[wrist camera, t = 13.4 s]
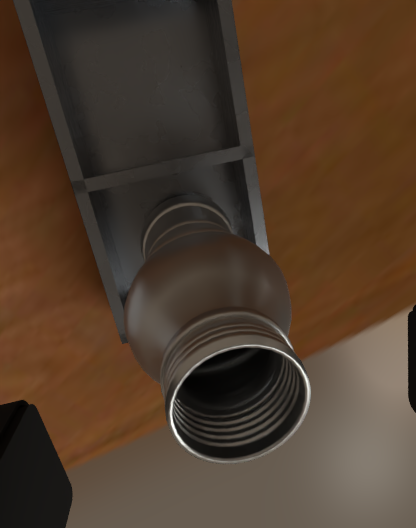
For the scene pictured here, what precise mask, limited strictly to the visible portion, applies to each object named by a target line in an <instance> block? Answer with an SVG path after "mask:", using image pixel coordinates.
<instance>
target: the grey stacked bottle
mask: <svg viewBox="0 0 416 528" xmlns="http://www.w3.org/2000/svg"><path fill="white" fill-rule="evenodd" d="M140 247H141V253H142V256H143V259H144V264H143V265H142V267H141V268H140V269H139V271H138V273H137V275H136V277H135V278H134V280H133V282H132V285H131V287H130V289H129V292H128V296H127V299H126V302H125V307H124V327H125V334H126V337H127V340H128V342H129V345H130V347H131V350H132V352H133V354H134V357H135V359H136V360H137V362H138V363H139V365H140V366H141V368H142V369H143V370H144V371H145V372H146V373H147V374H148V375H149V376H150V377H151V378H152V379H153V380H155V381H156V382H158V383H160V384H161V392H162V394H163V397H164V400H165V412H166V420H167V423H168V426H169V429H170V431H171V434H172V436H173V438H174V439H175V440H176V442H177V443H178V445H179V446H180V447H182V448H183V449H184V450H185V451H186V452H187V453H189V454H190V455H193V456H194V457H196V458H198V459H200V460H204V461H207V462H211V463H218V464H237V463H242V462H247V461H251V460H254V459H257V458H260V457H263V456H264V455H266V454H268V453H270V452H272V451H274V450H275V449H277V448H278V447H280V446H281V445H282V444H284V443H285V442H286V441H287V440H288V439H289V438H290V437H291V436H292V435H293V434H294V433H295V432H296V431H297V429H298V428H299V426H300V425H301V424H302V422H303V420H304V418H305V415H306V414H307V411H308V407H309V404H310V396H311V388H310V382H309V378H308V375H307V373H306V370H305V368H304V366H303V364H302V362H301V360H300V359H299V358H298V356H297V355H296V354H295V352H294V350H293V346H292V344H291V342H290V340H289V338H288V337H287V336H288V333H289V328H290V324H291V302H290V296H289V291H288V286H287V282H286V280H285V278H284V275H283V273H282V271H281V269H280V268H279V266H278V265H277V264H276V262H275V261H274V260H273V258H272V257H271V256H269V255H268V254H267V253H266V252H265V251H263V250H262V249H261V248H260V247H258V246H257V245H255V244H254V243H252V242H250V241H248V240H246V239H244V238H242V237H240V236H237V235H235V234H233V230H232V226H231V223H230V221H229V219H228V217H227V215H226V214H225V212H224V211H223V210H222V208H221V207H219V206H218V205H217V204H216V203H214V202H213V201H211V200H209V199H207V198H204V197H201V196H196V195H182V196H177V197H174V198H170V199H168V200H166V201H165V202H163V203H161V204H160V205H159V206H157V207H156V208H155V209H154V210H153V211H152V212H151V213H150V215H149V216H148V217H147V219H146V221H145V223H144V225H143V228H142V231H141V237H140Z"/></svg>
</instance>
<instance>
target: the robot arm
mask: <svg viewBox="0 0 416 528" xmlns="http://www.w3.org/2000/svg"><path fill="white" fill-rule="evenodd" d="M408 397H409V402H410V405H411V407H412V408H413V410H414V411H415V413H416V305H414V307H413V311H411V312H410V313H409V314H408ZM71 503H72V487H71V484H70V482H69V479H68V477H67V474H66V472H65V470H64V468H63V466H62V463H61V461H60V459H59V457H58V454H57V452H56V450H55V448H54V446H53V443H52V441H51V439H50V437H49V434H48V432H47V430H46V428H45V426H44V423H43V421H42V419H41V417H40V414H39V412H38V410H37V408H36V406H35V405H33V404H30V405H29V404H28V403H27V402H26V401H25V400H20V401H16V402H11V403H7V404H3V405H0V528H65V527H66V523H67V519H68V515H69V511H70V507H71Z"/></svg>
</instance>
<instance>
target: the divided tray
mask: <svg viewBox="0 0 416 528" xmlns="http://www.w3.org/2000/svg"><path fill="white" fill-rule="evenodd" d="M13 2H14V5H15V8H16V11H17V14H18V17H19V21H20V24H21V27H22V30H23V33H24V36H25V39H26V43H27V46H28V49H29V52H30V55H31V58H32V61H33V65H34V68H35V71H36V74H37V77H38V80H39V84H40V87H41V90H42V93H43V96H44V99H45V102H46V106H47V109H48V112H49V115H50V118H51V121H52V124H53V128H54V131H55V134H56V137H57V140H58V143H59V146H60V150H61V153H62V156H63V159H64V162H65V165H66V169H67V172H68V175H69V178H70V181H71V184H72V187H73V191H74V194H75V197H76V200H77V203H78V206H79V209H80V213H81V216H82V219H83V222H84V225H85V228H86V231H87V235H88V238H89V241H90V244H91V247H92V250H93V254H94V257H95V260H96V263H97V266H98V269H99V272H100V276H101V279H102V282H103V285H104V288H105V291H106V294H107V298H108V301H109V304H110V307H111V310H112V313H113V317H114V320H115V323H116V326H117V329H118V332H119V335H120V339H121V342H122V344H124V343H128V340H127V337H126V334H125V327H124V307H125V302H126V299H127V296H128V292H129V289H130V287H131V285H132V282H133V280H134V278H135V277H136V275H137V273H138V271H139V269H140V268H141V267H142V265H143V264H144V259H143V256H142V253H141V247H140V237H141V231H142V228H143V225H144V223H145V221H146V219H147V217H148V216H149V215H150V213H151V212H152V211H153V210H154V209H155V208H156V207H157V206H159V205H160V204H161V203H163V202H165V201H166V200H168V199H170V198H174V197H177V196H182V195H196V196H201V197H204V198H207V199H209V200H211V201H213V202H214V203H216V204H217V205H218V206H219V207H221V208H222V210H223V211H224V212H225V214H226V215H227V217H228V219H229V221H230V223H231V226H232V230H233V234H235V235H237V236H240V237H242V238H244V239H246V240H248V241H250V242H252V243H254V244H255V245H257V246H258V247H260V248H261V249H262V250H263V251H265V252H266V253H267V254H268V255H269V249H268V242H267V235H266V229H265V222H264V215H263V209H262V202H261V195H260V189H259V182H258V175H257V168H256V162H255V155H254V148H253V142H252V135H251V128H250V122H249V115H248V108H247V101H246V95H245V88H244V81H243V75H242V68H241V61H240V55H239V48H238V41H237V35H236V28H235V21H234V14H233V8H232V1H231V0H13ZM269 256H270V255H269Z"/></svg>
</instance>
